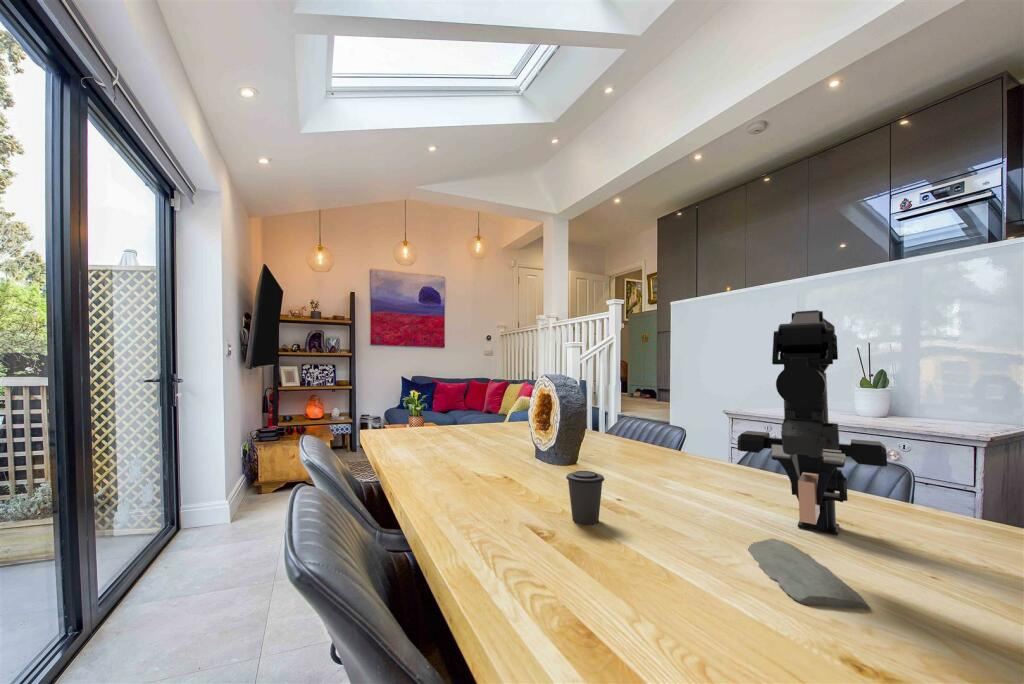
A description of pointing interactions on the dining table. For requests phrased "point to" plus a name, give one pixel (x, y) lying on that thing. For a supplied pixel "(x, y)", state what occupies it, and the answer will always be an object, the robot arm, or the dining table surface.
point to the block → (808, 498)
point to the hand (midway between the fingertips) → (809, 503)
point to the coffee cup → (585, 496)
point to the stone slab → (803, 576)
